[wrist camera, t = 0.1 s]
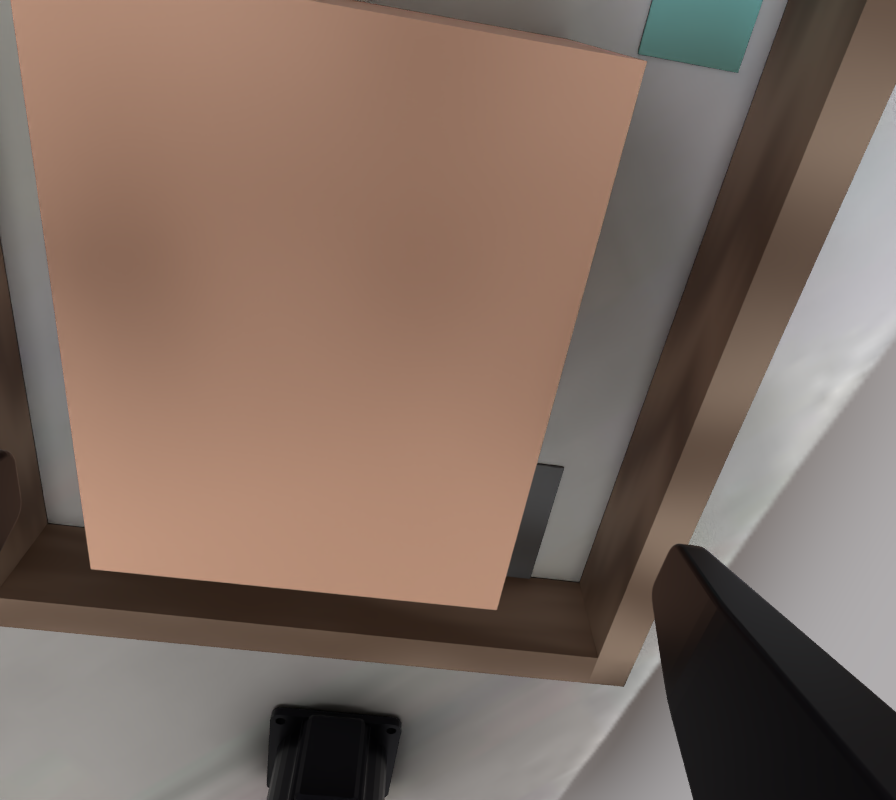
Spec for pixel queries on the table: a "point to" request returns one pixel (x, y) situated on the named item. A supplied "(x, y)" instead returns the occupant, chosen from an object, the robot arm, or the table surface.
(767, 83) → the shallow wooden tray box
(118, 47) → the terracotta block
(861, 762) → the robot arm
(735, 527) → the table surface
